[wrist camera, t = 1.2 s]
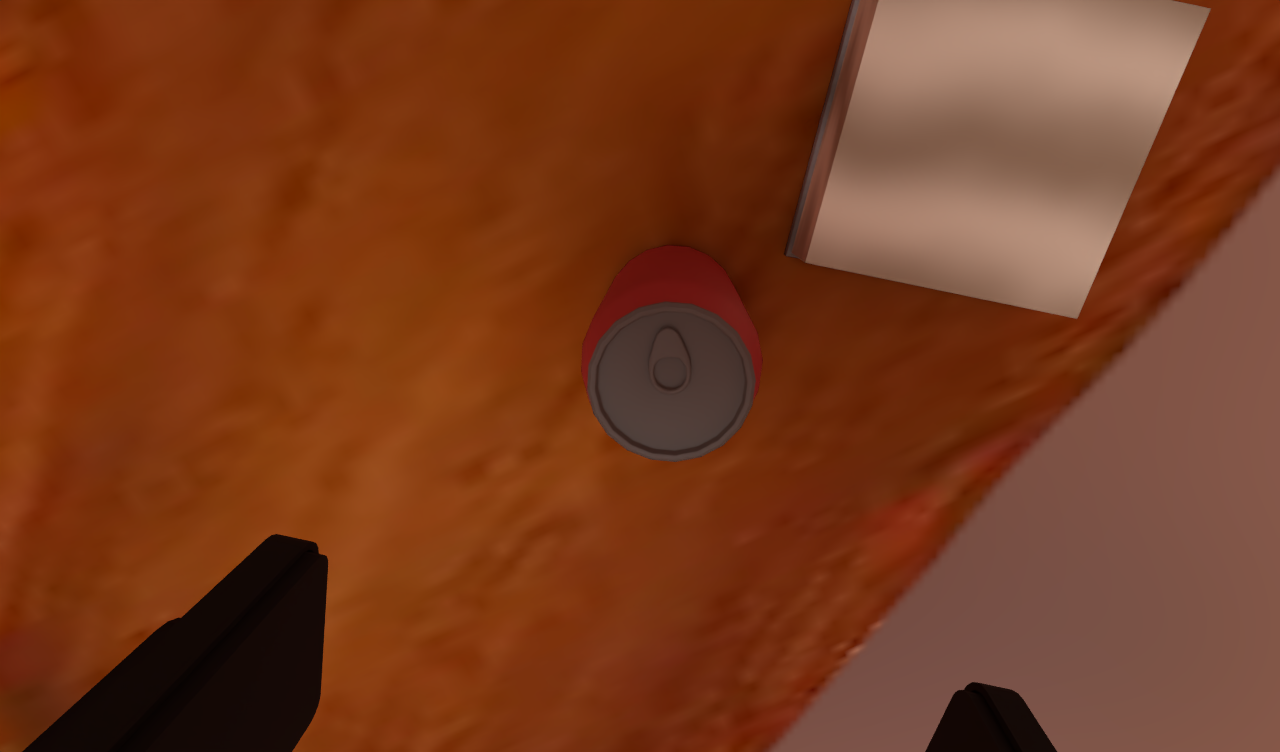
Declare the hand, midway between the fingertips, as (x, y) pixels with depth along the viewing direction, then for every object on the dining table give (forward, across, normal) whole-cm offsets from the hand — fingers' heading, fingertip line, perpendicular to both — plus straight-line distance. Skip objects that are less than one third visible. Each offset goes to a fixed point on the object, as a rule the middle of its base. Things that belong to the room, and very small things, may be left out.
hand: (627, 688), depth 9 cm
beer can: (+24, 0, 0) cm, 24 cm away
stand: (+24, -11, -10) cm, 29 cm away
